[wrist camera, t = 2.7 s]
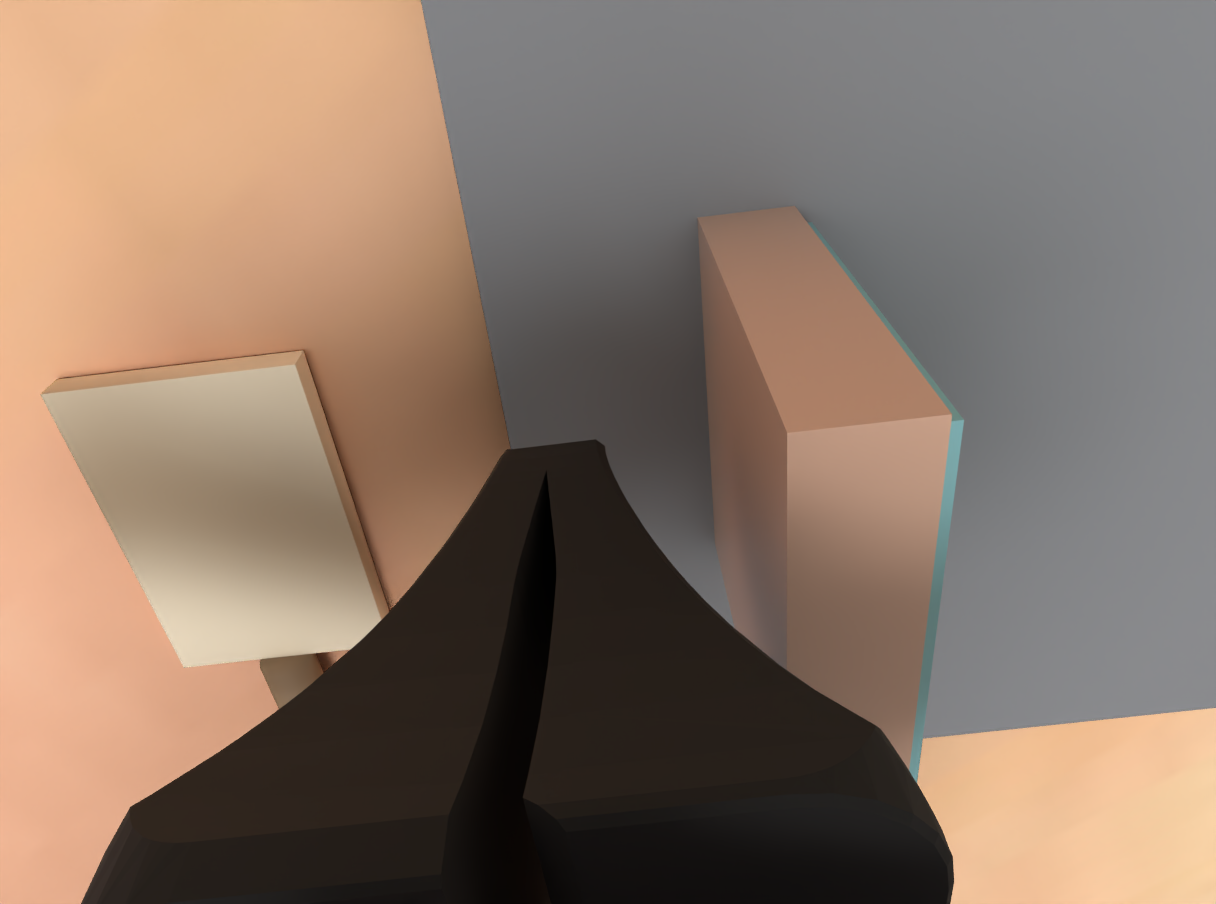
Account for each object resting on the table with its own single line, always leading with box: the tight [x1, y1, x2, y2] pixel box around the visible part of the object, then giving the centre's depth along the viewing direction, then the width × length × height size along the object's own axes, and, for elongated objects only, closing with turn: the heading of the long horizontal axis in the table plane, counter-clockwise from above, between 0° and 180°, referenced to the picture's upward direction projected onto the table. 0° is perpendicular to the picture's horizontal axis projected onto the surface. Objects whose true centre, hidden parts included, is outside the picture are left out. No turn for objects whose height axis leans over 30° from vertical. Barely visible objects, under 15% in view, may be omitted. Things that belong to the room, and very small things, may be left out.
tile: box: [697, 206, 964, 783], centre depth 12 cm, size 6×2×6 cm, turn 6°
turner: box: [41, 350, 389, 709], centre depth 17 cm, size 13×4×1 cm, turn 6°
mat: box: [421, 0, 1216, 738], centre depth 14 cm, size 18×16×1 cm
